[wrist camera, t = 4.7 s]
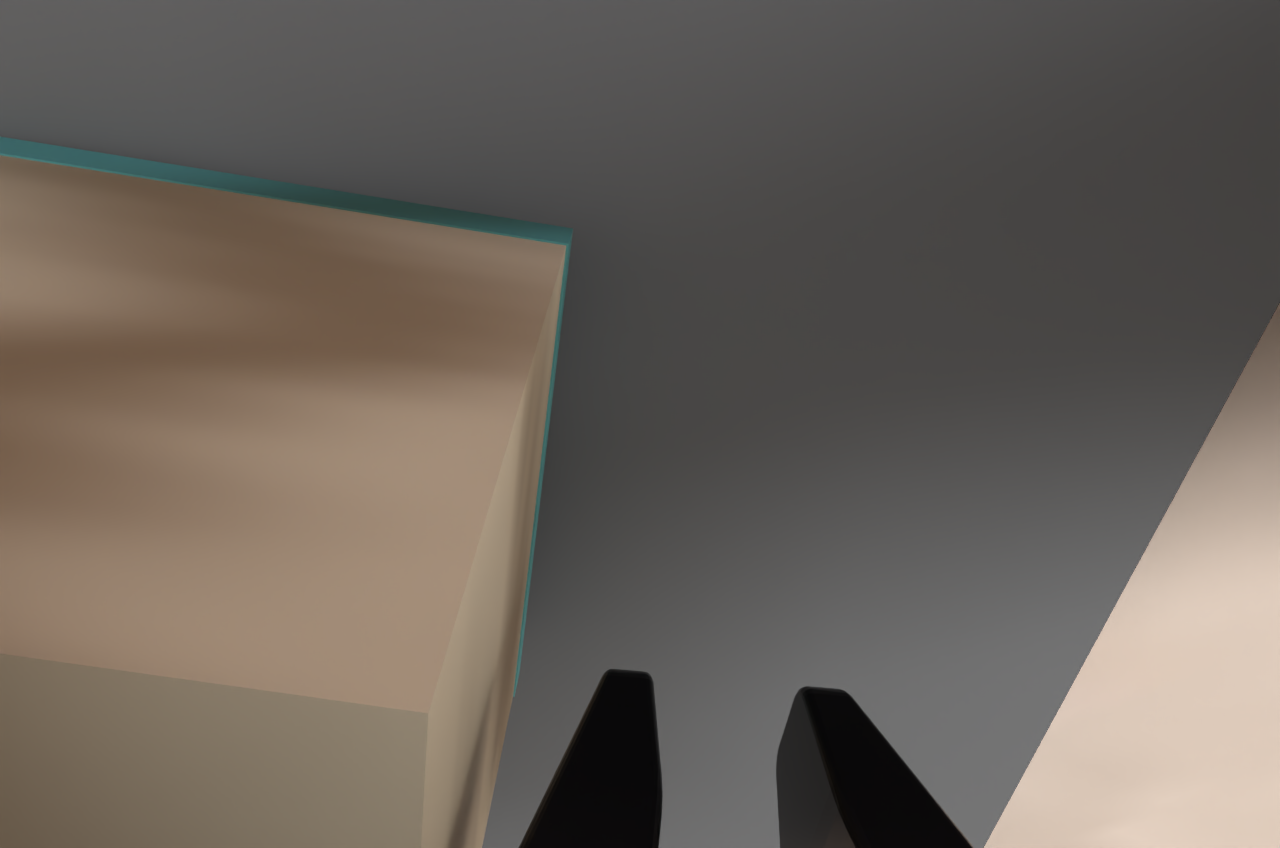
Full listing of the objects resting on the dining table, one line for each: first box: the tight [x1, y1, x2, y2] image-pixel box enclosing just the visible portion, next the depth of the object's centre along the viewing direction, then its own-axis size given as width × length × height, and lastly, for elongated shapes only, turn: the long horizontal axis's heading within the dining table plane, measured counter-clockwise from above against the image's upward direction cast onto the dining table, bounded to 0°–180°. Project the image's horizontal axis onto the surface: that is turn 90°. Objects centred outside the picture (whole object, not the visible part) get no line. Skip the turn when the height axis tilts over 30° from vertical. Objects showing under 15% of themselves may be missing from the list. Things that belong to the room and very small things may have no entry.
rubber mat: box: [0, 0, 1280, 848], centre depth 12 cm, size 28×14×1 cm, turn 81°
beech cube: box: [0, 137, 573, 848], centre depth 8 cm, size 6×6×6 cm
